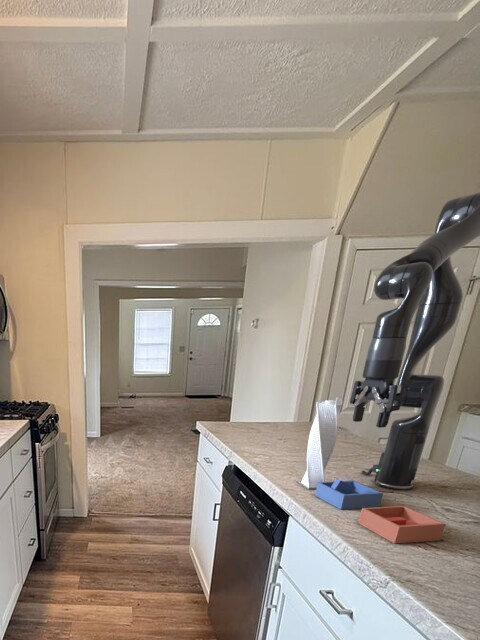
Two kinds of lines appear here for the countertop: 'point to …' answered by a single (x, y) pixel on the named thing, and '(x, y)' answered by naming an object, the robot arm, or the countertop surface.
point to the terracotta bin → (406, 533)
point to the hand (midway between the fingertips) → (368, 424)
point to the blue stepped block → (343, 487)
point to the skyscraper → (321, 442)
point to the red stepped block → (401, 521)
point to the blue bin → (349, 496)
